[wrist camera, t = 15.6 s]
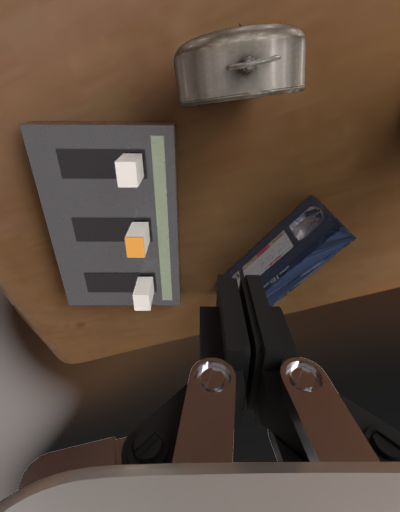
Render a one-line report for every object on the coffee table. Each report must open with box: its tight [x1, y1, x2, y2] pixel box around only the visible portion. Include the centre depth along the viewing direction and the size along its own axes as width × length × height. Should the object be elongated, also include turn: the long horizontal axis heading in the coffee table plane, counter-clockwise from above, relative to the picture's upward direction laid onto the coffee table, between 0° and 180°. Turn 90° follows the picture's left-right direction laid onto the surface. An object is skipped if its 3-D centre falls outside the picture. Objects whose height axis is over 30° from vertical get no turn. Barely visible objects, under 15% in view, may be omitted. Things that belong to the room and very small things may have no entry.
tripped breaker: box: [125, 222, 150, 258], centre depth 35 cm, size 2×2×4 cm
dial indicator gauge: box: [174, 23, 306, 107], centre depth 24 cm, size 11×5×16 cm, turn 97°
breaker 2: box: [133, 277, 154, 311], centre depth 39 cm, size 2×2×4 cm
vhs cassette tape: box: [216, 195, 356, 307], centre depth 38 cm, size 18×3×10 cm, turn 138°
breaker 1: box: [115, 153, 144, 187], centre depth 31 cm, size 2×2×4 cm
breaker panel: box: [19, 121, 181, 305], centre depth 38 cm, size 16×24×3 cm, turn 0°
